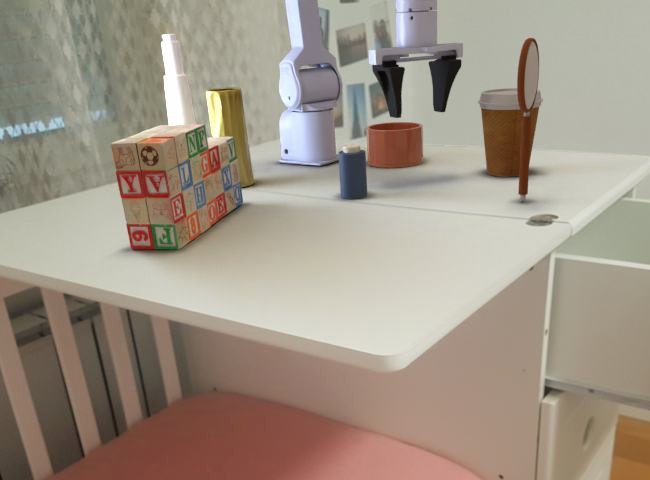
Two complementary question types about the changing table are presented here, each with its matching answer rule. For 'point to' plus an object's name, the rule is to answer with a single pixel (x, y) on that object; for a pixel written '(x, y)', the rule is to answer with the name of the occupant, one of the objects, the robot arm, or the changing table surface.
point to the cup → (394, 144)
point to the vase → (231, 125)
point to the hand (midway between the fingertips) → (417, 114)
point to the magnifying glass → (526, 105)
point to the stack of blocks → (175, 183)
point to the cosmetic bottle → (176, 84)
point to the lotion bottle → (352, 172)
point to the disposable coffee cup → (504, 129)
